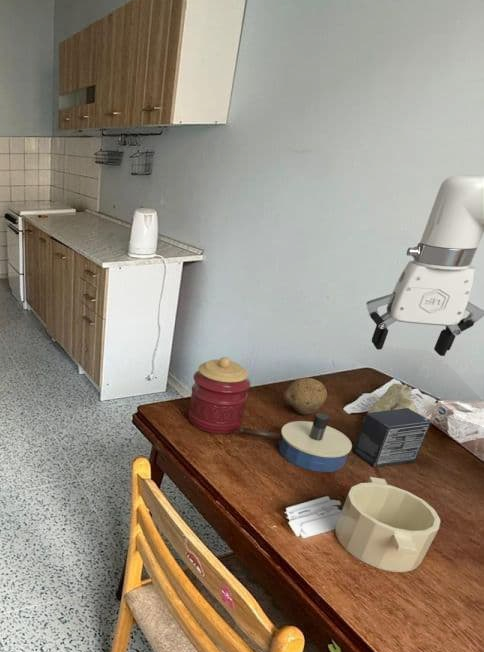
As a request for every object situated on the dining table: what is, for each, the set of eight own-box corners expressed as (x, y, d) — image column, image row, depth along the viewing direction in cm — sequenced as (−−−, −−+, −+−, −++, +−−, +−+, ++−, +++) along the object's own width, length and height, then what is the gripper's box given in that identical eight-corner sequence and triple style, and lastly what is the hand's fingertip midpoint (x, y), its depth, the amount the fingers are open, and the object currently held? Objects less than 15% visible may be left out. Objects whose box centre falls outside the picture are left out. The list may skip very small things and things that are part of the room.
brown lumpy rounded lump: (280, 417, 121) (289, 382, 116) (281, 402, 128) (289, 368, 123) (320, 425, 117) (331, 389, 112) (319, 408, 124) (329, 374, 119)
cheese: (392, 453, 110) (455, 414, 106) (373, 429, 109) (435, 389, 106) (358, 435, 124) (412, 401, 121) (341, 414, 124) (394, 379, 121)
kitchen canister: (203, 438, 113) (215, 372, 105) (178, 411, 124) (187, 349, 116) (251, 431, 115) (267, 366, 107) (222, 405, 126) (234, 344, 118)
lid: (343, 430, 109) (352, 405, 105) (357, 465, 97) (367, 438, 94) (277, 420, 113) (284, 396, 110) (283, 452, 101) (290, 427, 98)
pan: (338, 443, 110) (343, 428, 108) (350, 477, 99) (356, 462, 97) (275, 433, 114) (279, 419, 112) (280, 465, 103) (285, 450, 101)
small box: (391, 445, 109) (407, 406, 104) (416, 462, 103) (434, 421, 98) (351, 450, 107) (365, 411, 102) (374, 468, 102) (390, 427, 97)
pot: (402, 517, 88) (419, 481, 84) (438, 594, 74) (460, 555, 70) (327, 502, 92) (339, 468, 88) (345, 573, 78) (361, 535, 74)
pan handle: (282, 438, 108) (284, 432, 107) (283, 442, 107) (284, 436, 106) (237, 431, 111) (239, 425, 110) (237, 434, 110) (239, 429, 109)
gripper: (389, 258, 79) (358, 352, 87) (519, 264, 73) (473, 364, 81) (377, 249, 85) (349, 337, 93) (497, 254, 80) (456, 347, 88)
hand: (407, 349), depth 87 cm, fingers open, 9 cm apart
